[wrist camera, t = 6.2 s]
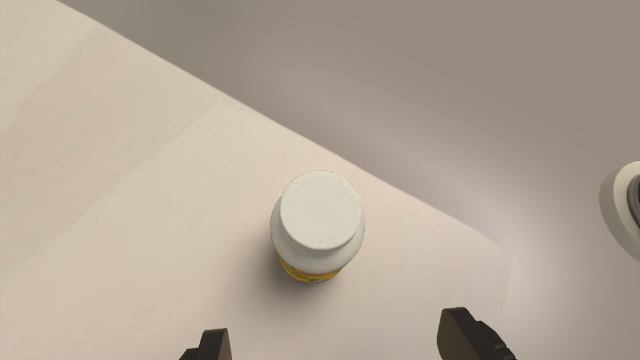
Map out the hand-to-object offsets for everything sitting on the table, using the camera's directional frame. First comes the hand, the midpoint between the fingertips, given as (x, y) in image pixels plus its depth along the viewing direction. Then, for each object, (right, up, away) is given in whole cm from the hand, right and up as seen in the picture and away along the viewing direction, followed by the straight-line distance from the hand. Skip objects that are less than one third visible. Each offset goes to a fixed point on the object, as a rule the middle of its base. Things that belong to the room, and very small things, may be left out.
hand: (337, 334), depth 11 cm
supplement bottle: (-1, +1, +12) cm, 12 cm away
